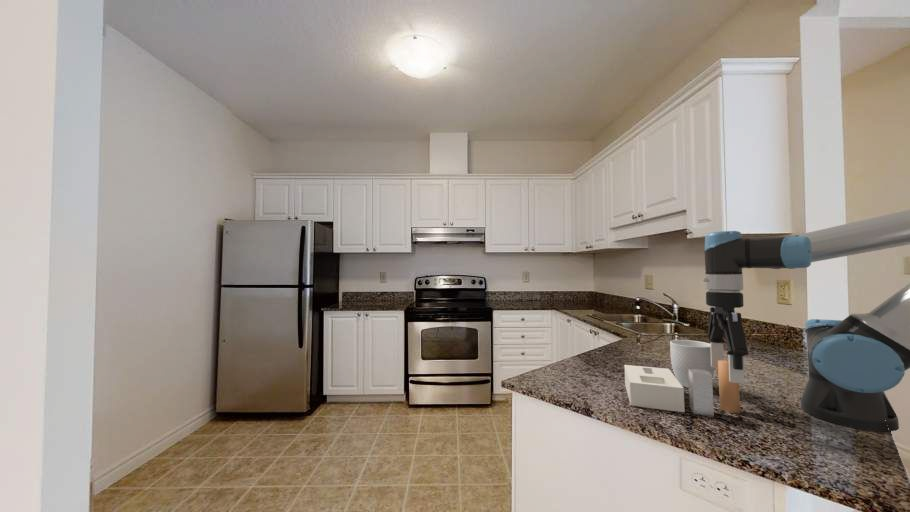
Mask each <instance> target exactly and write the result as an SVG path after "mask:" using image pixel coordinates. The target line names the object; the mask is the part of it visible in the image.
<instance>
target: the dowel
mask: <svg viewBox="0 0 910 512" xmlns="http://www.w3.org/2000/svg"><path fill="white" fill-rule="evenodd" d="M717 371H718V373H717V375H718V376H717V377H718V380H719V383H718V393H719V409H720V410H721V409H722V410H721V411H723V410H724V411H723V412H726V413H730V414H740V413H741V399H740V398H741V397H740V396H741V395H740V394H741V393H740V383H733V382H730V381H729V360H727V359H726V360H718V367H717Z"/></svg>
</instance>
